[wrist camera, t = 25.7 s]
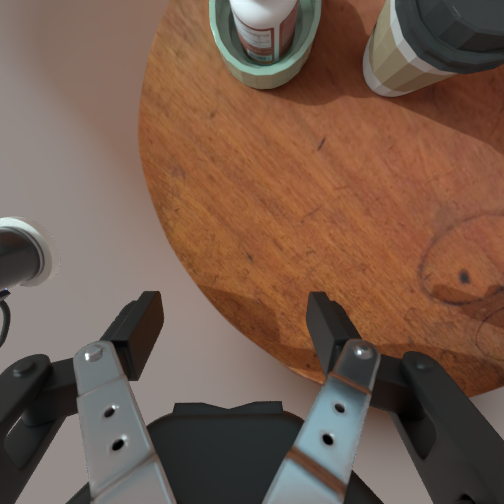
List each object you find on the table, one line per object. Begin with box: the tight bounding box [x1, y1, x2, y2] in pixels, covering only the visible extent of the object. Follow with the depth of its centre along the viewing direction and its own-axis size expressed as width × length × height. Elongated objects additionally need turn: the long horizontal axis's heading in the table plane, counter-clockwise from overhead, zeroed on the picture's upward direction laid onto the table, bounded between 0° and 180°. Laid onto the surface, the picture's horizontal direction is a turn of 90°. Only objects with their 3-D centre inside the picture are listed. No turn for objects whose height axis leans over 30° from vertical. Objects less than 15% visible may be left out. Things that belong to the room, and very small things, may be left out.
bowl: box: [209, 0, 322, 89], centre depth 25 cm, size 11×11×4 cm
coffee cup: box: [363, 0, 504, 97], centre depth 20 cm, size 11×11×15 cm
